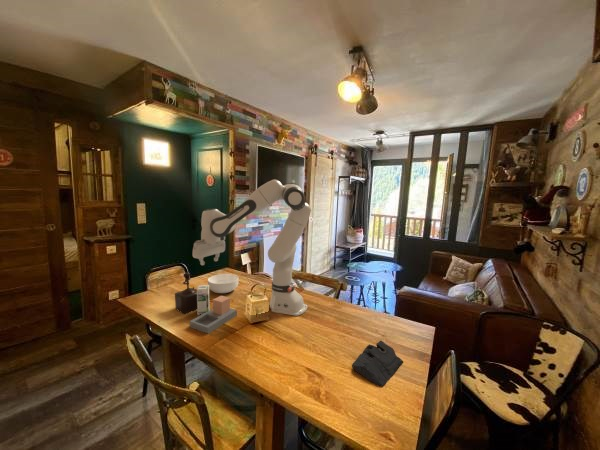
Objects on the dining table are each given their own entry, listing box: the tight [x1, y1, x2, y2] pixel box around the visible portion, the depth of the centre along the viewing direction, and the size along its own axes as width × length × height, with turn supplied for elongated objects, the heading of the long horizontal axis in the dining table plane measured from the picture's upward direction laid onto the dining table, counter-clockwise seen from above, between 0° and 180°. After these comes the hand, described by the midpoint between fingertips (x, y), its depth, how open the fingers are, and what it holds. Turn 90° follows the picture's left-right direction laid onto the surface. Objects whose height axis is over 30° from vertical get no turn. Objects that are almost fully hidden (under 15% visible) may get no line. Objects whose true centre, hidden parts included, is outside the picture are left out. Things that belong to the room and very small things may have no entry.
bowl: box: [207, 273, 239, 294], centre depth 163 cm, size 20×20×8 cm
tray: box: [189, 295, 238, 334], centre depth 124 cm, size 20×12×10 cm, turn 154°
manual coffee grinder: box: [174, 272, 197, 315], centre depth 138 cm, size 16×11×18 cm
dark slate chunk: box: [351, 340, 404, 388], centre depth 97 cm, size 15×22×5 cm
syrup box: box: [196, 284, 210, 316], centre depth 133 cm, size 6×6×14 cm
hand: (209, 262), depth 134 cm, fingers open, 8 cm apart
